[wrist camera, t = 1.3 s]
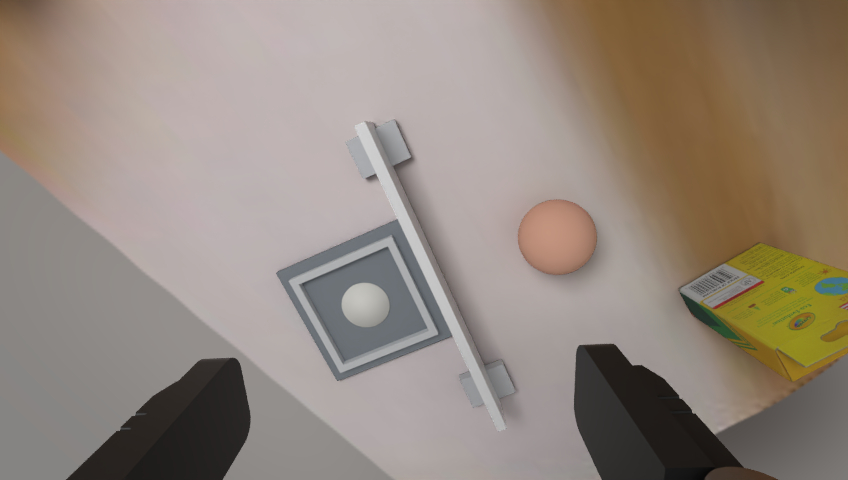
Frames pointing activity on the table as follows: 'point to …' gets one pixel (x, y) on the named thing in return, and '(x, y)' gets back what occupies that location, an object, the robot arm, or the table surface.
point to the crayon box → (776, 308)
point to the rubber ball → (557, 237)
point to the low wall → (429, 262)
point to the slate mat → (365, 301)
